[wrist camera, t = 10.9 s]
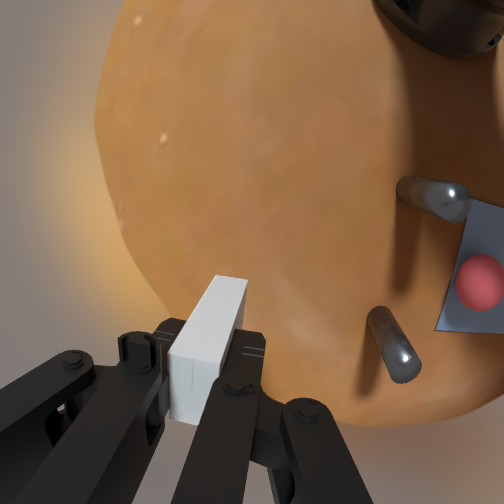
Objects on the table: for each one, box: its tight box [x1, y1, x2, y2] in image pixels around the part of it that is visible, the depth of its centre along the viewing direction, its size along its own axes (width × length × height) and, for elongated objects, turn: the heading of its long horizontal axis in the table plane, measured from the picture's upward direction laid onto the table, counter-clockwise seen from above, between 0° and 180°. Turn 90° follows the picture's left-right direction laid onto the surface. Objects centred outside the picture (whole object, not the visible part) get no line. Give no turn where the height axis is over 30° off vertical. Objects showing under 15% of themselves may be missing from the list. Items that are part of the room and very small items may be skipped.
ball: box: [456, 254, 504, 312], centre depth 25 cm, size 6×6×6 cm
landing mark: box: [435, 199, 504, 334], centre depth 27 cm, size 14×14×1 cm
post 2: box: [396, 176, 471, 223], centre depth 22 cm, size 3×3×9 cm
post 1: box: [367, 306, 422, 384], centre depth 25 cm, size 3×3×9 cm
